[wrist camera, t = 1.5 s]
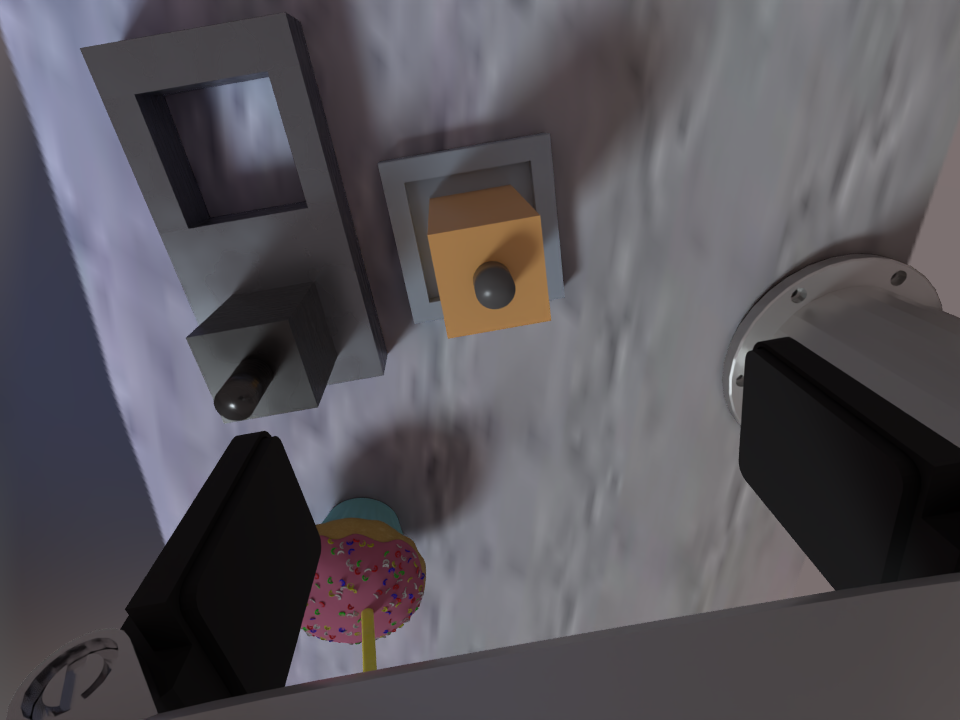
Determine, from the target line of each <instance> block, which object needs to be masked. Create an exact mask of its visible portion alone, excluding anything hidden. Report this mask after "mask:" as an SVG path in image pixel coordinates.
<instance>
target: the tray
mask: <svg viewBox="0 0 960 720" xmlns="http://www.w3.org/2000/svg"><path fill="white" fill-rule="evenodd" d="M378 168H379V172H380V177H381V181H382V185H383V190H384V194H385V198H386V203H387V207H388V211H389V216H390V220H391V225H392V229H393V233H394V238H395V242H396V246H397V251H398V255H399V259H400V264H401V268H402V272H403V277H404V281H405V285H406V290H407V294H408V299H409V303H410V307H411V312H412V316H413V320H414V324H417V323H423V322H429V321H434V320H440V319H444V316H443V311H442V306H441V301H440V296H439V291H438V286H437V281H436V276H435V271H434V266H433V261H432V256H431V251H430V246H429V241H428V236H427V232H428V215H429V199H430V198H436V197H442V196H447V195H453V194H459V193H465V192H470V191H476V190H482V189H487V188H493V187H499V186H505V185H510V184H511V185H512V186H513V187H514V188H515V190H516V191H517V192H518V193H519V194H520V195H521V196H522V197H523V198H524V199H525V200H526V201H527V202H528V203H529V204H530V205H531V206H532V207H533V208H534V209H535V210H536V211H537V213H538V214H539V215H540V218H541V227H542V237H543V247H544V256H545V266H546V276H547V286H548V295H549V300H554V299H560V298H565V297H564V285H563V274H562V263H561V251H560V240H559V229H558V218H557V206H556V195H555V184H554V172H553V161H552V150H551V138H550V134H549V133H540V134H534V135H528V136H523V137H517V138H511V139H506V140H500V141H494V142H488V143H483V144H477V145H471V146H466V147H460V148H454V149H448V150H443V151H437V152H431V153H426V154H420V155H414V156H408V157H403V158H397V159H391V160H386V161H380V162H379V163H378Z"/></svg>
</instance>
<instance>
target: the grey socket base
mask: <svg viewBox="0 0 960 720" xmlns="http://www.w3.org/2000/svg"><path fill="white" fill-rule="evenodd" d="M80 50H81V52H82V54H83V57H84V59H85V61H86V64H87V66H88V68H89V71H90V73H91V75H92V78H93V80H94V82H95V85H96V87H97V89H98V92H99V94H100V96H101V99H102V101H103V103H104V106H105V108H106V110H107V113H108V115H109V117H110V120H111V122H112V124H113V127H114V129H115V131H116V134H117V136H118V138H119V141H120V143H121V145H122V148H123V150H124V152H125V155H126V157H127V159H128V162H129V164H130V166H131V168H132V171H133V173H134V175H135V178H136V180H137V182H138V185H139V187H140V189H141V192H142V194H143V196H144V199H145V201H146V203H147V206H148V208H149V210H150V213H151V215H152V217H153V220H154V222H155V224H156V227H157V229H158V231H159V234H160V236H161V238H162V241H163V243H164V245H165V248H166V250H167V252H168V255H169V257H170V259H171V262H172V264H173V266H174V269H175V271H176V273H177V276H178V278H179V280H180V283H181V285H182V287H183V290H184V292H185V294H186V297H187V299H188V301H189V304H190V306H191V308H192V311H193V313H194V315H195V317H196V320H197V322H198V324H199V326H198V327H197V328H196V329H195V330H194V331H193V332H192V333H191V334H190V335H188V336H187V337H186V339H187V342H188V344H189V346H190V348H191V351H192V353H193V355H194V357H195V359H196V362H197V364H198V366H199V368H200V371H201V373H202V375H203V377H204V380H205V382H206V384H207V386H208V389H209V391H210V393H211V395H212V398H213V400H214V406H215V408H216V410H217V412H218V413H219V414H220V415H221V418H222V420H223V422H224V424H225V423H231V422H237V421H242V420H248V419H254V418H260V417H265V416H271V415H277V414H282V413H288V412H294V411H300V410H305V409H311V408H317V407H318V406H319V403H320V401H321V398H322V395H323V393H324V390H325V388H326V385H331V384H336V383H342V382H348V381H353V380H359V379H365V378H371V377H376V376H382V375H384V370H385V365H386V360H387V351H386V347H385V343H384V339H383V336H382V332H381V328H380V324H379V320H378V316H377V313H376V309H375V305H374V301H373V297H372V294H371V290H370V286H369V282H368V278H367V274H366V271H365V267H364V263H363V259H362V255H361V252H360V248H359V244H358V240H357V236H356V232H355V229H354V225H353V221H352V217H351V213H350V210H349V206H348V202H347V198H346V194H345V190H344V187H343V183H342V179H341V175H340V171H339V168H338V164H337V160H336V156H335V152H334V148H333V145H332V141H331V137H330V133H329V129H328V126H327V122H326V118H325V114H324V110H323V106H322V103H321V99H320V95H319V91H318V87H317V84H316V80H315V76H314V72H313V68H312V64H311V61H310V57H309V53H308V49H307V45H306V42H305V38H304V34H303V30H302V26H301V22H300V21H298V20H297V19H295V18H294V17H292V16H290V15H289V14H287V13H286V12H284V13H279V14H273V15H267V16H261V17H256V18H250V19H244V20H239V21H233V22H227V23H221V24H216V25H210V26H204V27H198V28H193V29H187V30H181V31H176V32H170V33H164V34H158V35H153V36H147V37H141V38H135V39H130V40H124V41H118V42H113V43H107V44H101V45H95V46H90V47H84V48H80ZM266 77H269V78H270V81H271V84H272V88H273V91H274V95H275V98H276V101H277V105H278V108H279V111H280V115H281V118H282V122H283V125H284V128H285V132H286V135H287V138H288V142H289V145H290V149H291V152H292V155H293V159H294V162H295V165H296V169H297V172H298V176H299V179H300V182H301V186H302V189H303V192H304V196H305V199H306V201H305V202H299V203H293V204H288V205H282V206H276V207H271V208H265V209H259V210H253V211H248V212H242V213H236V214H231V215H225V216H219V217H213V218H210V217H209V214H208V211H207V209H206V206H205V203H204V201H203V198H202V196H201V193H200V190H199V188H198V185H197V182H196V180H195V177H194V175H193V172H192V169H191V167H190V164H189V161H188V159H187V156H186V154H185V151H184V148H183V146H182V143H181V140H180V138H179V135H178V133H177V130H176V127H175V125H174V122H173V119H172V117H171V114H170V112H169V109H168V106H167V104H166V101H165V98H164V96H163V95H169V94H174V93H180V92H186V91H192V90H197V89H203V88H209V87H214V86H220V85H226V84H232V83H237V82H243V81H249V80H255V79H260V78H266Z"/></svg>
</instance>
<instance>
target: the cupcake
mask: <svg viewBox="0 0 960 720" xmlns="http://www.w3.org/2000/svg"><path fill="white" fill-rule="evenodd" d="M316 528H317V530H318V532H319V535H320V539H321V555H320V559H319V562H318V566H317V570H316V573H315V577H314V581H313V584H312V588H311V592H310V596H309V599H308V603H307V607H306V610H305V614H304V618H303V621H302V625H301V629H302V630H304V632H306V631H307V635H308V636H316V637H317V638H319V639H321V640H325V641H327V640H328V641H329V642H332V641H333V642H339V643H341V642H342V643H349V644H350V645H353V643H355V644H360V643H361V642H362V652H363V672H367V671H373V670H377V666H376V648H375V640H377V639H379V638H381V637H383V638H386V636H385V635H390V634H391V632H396V629H397V628H401V627H402V626H403V625H404V624H403V623H404V622H408V621H410V616H411V615H412V614H413V613H414V612H415V611H416V610H417V609H418V607H419V606H420V603H421V600H422V597H423V595H424V588H425V581H426V565H425V561H424V559H423V557H422V556H421V555H420V553H419V552H418V550H417V547H416V545H415V543H414V542H413V541H412V540H411V539H410V538H408V537H406V536H404V535H403V532H402V530H401V527H400V523H399V520H398V518H397V515H396V514H395V512H394V511H393V510H392V509H391V508H390V507H389V506H387V505H386V504H384V503H382V502H380V501H377V500H374V499H370V498H354V499H350V500H346V501H344V502H342V503H340V504H338V505H337V506H336V507H334V508H333V509H332V510H331V512H330V513H329V514H328V516H327V517H326V518H325V520H324V521H323V522H322V523H321V524H317V525H316ZM401 625H402V626H401ZM394 630H395V631H394ZM308 632H309V633H308ZM309 634H311V635H309Z"/></svg>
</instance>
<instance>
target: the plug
mask: <svg viewBox="0 0 960 720" xmlns="http://www.w3.org/2000/svg"><path fill="white" fill-rule="evenodd" d="M427 236H428V241H429V246H430V251H431V256H432V261H433V266H434V271H435V276H436V281H437V286H438V291H439V296H440V301H441V306H442V311H443V316H444V321H445V326H446V331H447V336H448V339H449V338H454V337H460V336H466V335H472V334H477V333H483V332H489V331H494V330H500V329H506V328H512V327H517V326H523V325H529V324H534V323H540V322H546V321H551V315H550V305H549V295H548V286H547V276H546V266H545V256H544V247H543V237H542V227H541V218H540V215H539V214H538V213H537V211H536V210H535V209H534V208H533V207H532V206H531V205H530V204H529V203H528V202H527V201H526V200H525V199H524V198H523V197H522V196H521V195H520V194H519V193H518V192H517V191H516V190H515V188H514V187H513V186H512V185H511V184H510V185H505V186H499V187H493V188H487V189H482V190H476V191H470V192H465V193H459V194H453V195H447V196H442V197H436V198H430V199H429V215H428V232H427Z"/></svg>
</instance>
